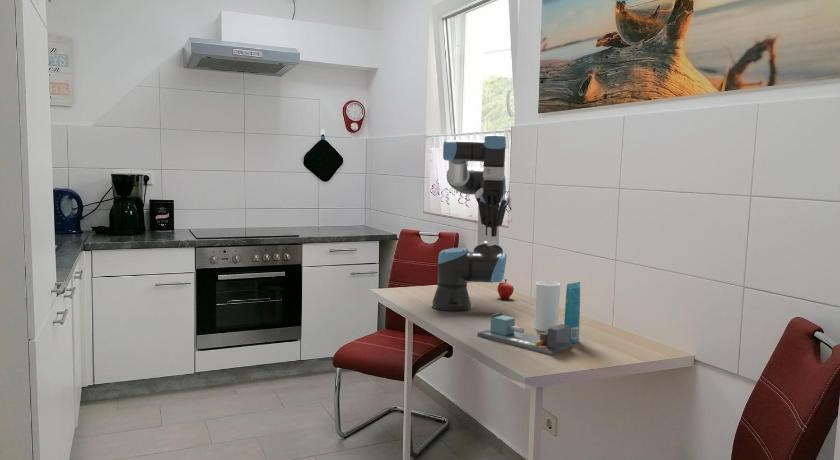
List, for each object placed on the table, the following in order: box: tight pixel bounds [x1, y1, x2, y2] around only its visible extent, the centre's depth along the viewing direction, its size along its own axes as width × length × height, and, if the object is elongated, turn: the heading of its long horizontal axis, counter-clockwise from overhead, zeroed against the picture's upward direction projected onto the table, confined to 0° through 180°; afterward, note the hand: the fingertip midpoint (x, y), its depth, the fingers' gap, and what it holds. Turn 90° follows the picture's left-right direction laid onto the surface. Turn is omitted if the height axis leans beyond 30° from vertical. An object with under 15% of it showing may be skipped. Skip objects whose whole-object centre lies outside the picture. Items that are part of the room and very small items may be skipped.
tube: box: [563, 281, 581, 344], centre depth 199 cm, size 7×5×19 cm, turn 140°
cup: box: [533, 280, 561, 332], centre depth 214 cm, size 8×8×16 cm
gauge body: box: [489, 312, 525, 335], centre depth 202 cm, size 11×5×6 cm, turn 47°
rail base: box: [477, 323, 573, 356], centre depth 198 cm, size 28×12×7 cm, turn 47°
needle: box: [535, 331, 548, 345], centre depth 191 cm, size 2×7×3 cm, turn 137°
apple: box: [496, 278, 515, 300], centre depth 263 cm, size 8×7×10 cm
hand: (490, 245), depth 221 cm, fingers closed
